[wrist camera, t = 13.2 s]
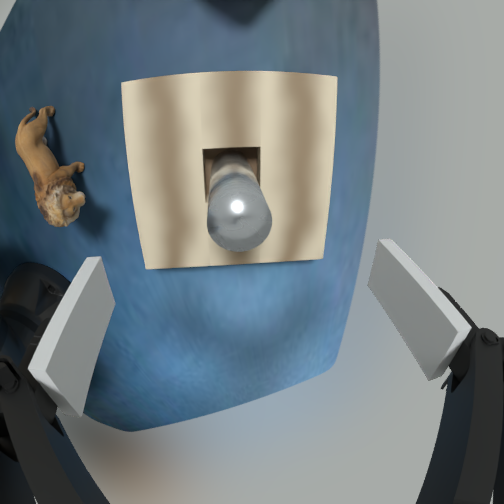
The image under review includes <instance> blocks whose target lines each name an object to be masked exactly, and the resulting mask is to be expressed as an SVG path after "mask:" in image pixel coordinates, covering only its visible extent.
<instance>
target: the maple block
mask: <svg viewBox="0 0 504 504" xmlns="http://www.w3.org/2000/svg"><path fill="white" fill-rule="evenodd" d="M122 104H123V118H124V130H125V141H126V151H127V159H128V168H129V175H130V183H131V190H132V196H133V203H134V209H135V215H136V221H137V226H138V232H139V237H140V242H141V247H142V252H143V257H144V261H145V266H146V269H161V268H180V267H198V266H216V265H233V264H250V263H266V262H282V261H298V260H313V259H323V253H324V245H325V237H326V229H327V220H328V211H329V202H330V192H331V181H332V170H333V157H334V143H335V126H336V104H337V77H335V76H327V75H317V74H307V73H293V72H274V71H221V72H202V73H188V74H178V75H169V76H160V77H153V78H146V79H140V80H134V81H128V82H122ZM225 150H236V151H239V152H241V153H242V154H244V155H245V157H246V158H247V160H248V162H249V164H250V166H251V168H252V171H253V173H254V175H255V177H256V179H257V182H258V184H259V186H260V188H261V191H262V193H263V195H264V197H265V200H266V202H267V204H268V207H269V209H270V211H271V214H272V227H271V231H270V233H269V235H268V237H267V238H266V239H265V240H264V241H263V243H261V244H260V245H259V246H257V247H255V248H253V249H251V250H248V251H243V252H234V251H229V250H226V249H224V248H222V247H220V246H219V245H217V244H216V243H215V242H214V241H213V240H212V238H211V237H210V235H209V232H208V229H207V212H208V199H209V187H210V175H211V165H212V162H213V160H214V158H215V157H216V156H217V155H218V154H219V153H220V152H222V151H225Z"/></svg>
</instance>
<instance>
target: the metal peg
mask: <svg viewBox="0 0 504 504" xmlns="http://www.w3.org/2000/svg"><path fill="white" fill-rule="evenodd" d="M271 227H272V214H271V211H270V209H269V207H268V204H267V202H266V200H265V197H264V195H263V193H262V191H261V188H260V186H259V184H258V182H257V179H256V177H255V175H254V173H253V171H252V168H251V166H250V164H249V162H248V160H247V158H246V157H245V155H244V154H242V153H241V152H239V151H236V150H225V151H222V152H220V153H219V154H218V155H217V156H216V157H215V158H214V160H213V162H212V165H211V175H210V187H209V199H208V212H207V229H208V232H209V235H210V237H211V238H212V240H213V241H214V242H215V243H216V244H217V245H219V246H220V247H222V248H224V249H226V250H229V251H234V252H243V251H248V250H251V249H253V248H255V247H257V246H259V245H260V244H261V243H263V241H264V240H265V239H266V238H267V237H268V235H269V233H270V231H271Z"/></svg>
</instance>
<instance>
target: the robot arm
mask: <svg viewBox="0 0 504 504" xmlns="http://www.w3.org/2000/svg"><path fill="white" fill-rule="evenodd" d="M368 287H369V288H370V290H371V291H372V292H373V293H374V295H375V297H376V298H377V300H378V301H379V303H380V304H381V305H382V307H383V309H384V310H385V312H386V313H387V315H388V316H389V318H390V319H391V321H392V322H393V324H394V325H395V327H396V329H397V330H398V331H399V333H400V335H401V336H402V338H403V339H404V341H405V343H406V344H407V346H408V347H409V349H410V351H411V352H412V354H413V356H414V357H415V359H416V360H417V362H418V364H419V365H420V367H421V369H422V370H423V372H424V374H425V376H426V377H427V379H428V381H430V380H433V379H435V378H438V377H440V376H442V375H443V374H444V372H445V370H446V369H447V367H448V366H449V367H450V369H451V371H452V372H451V373H450V375H449V376H448V378H447V379H446V381H445V382H444V383H443V385H442V387H441V389H443V388H444V387H445V386H446V384H447V389H446V397H445V403H444V408H443V414H442V418H441V422H440V427H439V432H438V435H437V440H436V443H435V447H434V451H433V454H432V458H431V461H430V464H429V468H428V471H427V474H426V477H425V480H424V483H423V486H422V488H421V492H420V494H419V497H418V499H417V502H416V504H490V501H491V497H492V492H493V504H504V338H503V337H502V338H499V337H498V336H497V335H496V334H495V333H494V332H493V331H491V330H490V329H487V328H481V329H479V328H478V327H477V326H476V325H475V323H474V322H473V321H472V320H471V319H470V317H469V316H468V315H467V314H466V313H465V311H464V310H463V309H462V308H460V306H459V305H458V303H457V302H455V300H454V299H453V298H452V297H451V295H450V294H449V293H447V292H446V291H444V290H443V289H442V288H440V287H436V285H435V284H434V283H433V282H432V281H431V280H430V279H429V278H428V277H427V275H426V274H425V273H424V272H423V271H422V270H421V269H420V268H419V267H418V266H417V265H416V264H415V263H414V262H413V261H412V260H411V259H410V258H409V257H408V256H407V255H406V254H405V253H404V252H403V251H402V250H401V249H400V248H399V247H398V246H397V245H396V244H395V243H394V242H393V241H392V240H391V239H380V240H378V243H377V248H376V252H375V257H374V261H373V265H372V269H371V274H370V278H369V282H368ZM114 306H115V301H114V298H113V295H112V292H111V288H110V285H109V282H108V279H107V276H106V272H105V269H104V265H103V262H102V258H101V257H87V258H86V260H85V261H84V263H83V265H82V266H81V268H80V269H79V271H78V273H77V274H76V276H75V278H74V279H73V281H72V283H70V282H69V281H68V280H67V279H65V278H64V277H63V276H62V275H61V274H59V273H58V272H56V271H55V270H53V269H51V268H49V267H47V266H45V265H42V264H38V263H24V264H21V265H19V266H18V267H17V268H16V269H15V270H14V271H13V272H12V273H11V275H10V276H9V277H8V279H7V281H6V283H5V287H4V292H3V294H2V297H1V301H0V504H36V502H35V499H36V501H37V502H38V504H110V503H109V501H108V500H107V499H106V497H105V496H104V495H103V493H102V492H101V490H100V489H99V487H98V486H97V484H96V483H95V481H94V480H93V478H92V477H91V475H90V474H89V472H88V471H87V469H86V467H85V466H84V464H83V462H82V461H81V459H80V457H79V456H78V454H77V452H76V450H75V449H74V447H73V445H72V443H71V441H70V439H69V438H68V436H67V434H66V432H65V430H64V428H63V426H62V424H61V422H60V420H59V418H58V417H57V415H56V410H57V407H58V408H59V409H60V410H61V411H62V412H63V413H64V415H69V416H75V417H82V413H83V409H84V405H85V400H86V397H87V393H88V389H89V385H90V381H91V378H92V374H93V371H94V367H95V364H96V361H97V357H98V354H99V351H100V348H101V344H102V341H103V338H104V335H105V332H106V329H107V326H108V323H109V320H110V318H111V315H112V312H113V309H114ZM34 497H35V498H34Z"/></svg>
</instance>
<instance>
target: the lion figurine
mask: <svg viewBox="0 0 504 504" xmlns="http://www.w3.org/2000/svg"><path fill="white" fill-rule="evenodd" d="M29 111H30V112H31V113H30V114H28V115H27V116H26V117H25V118H24V119H23V120H22V121H21V123H20V125H19V127H18V133H17V134H16V139H15V143H16V150H17V152H18V154H19V155H20V157H21V158H22V159H23V161H24V163H25V164H26V166H27V168H28V170H29V172H30V175H31V177H32V179H33V181H34V190H35V196H36V201H37V205H38V208H39V209H40V211H41V213H42V214H43V215H44V219H45V220H47V221H48V223H49V224H50V225H54V226H55V227H63V226H66V227H67V226H68V225H69V223H71V222H73V221H74V220H76V219H77V218H78V217H79V212H80V210H79V209H80V207H81V206H83V205H84V204H85V195H84V193H82V192H77V191H76V187H75V183H73V180H72V179H71V177H72V175H73V174H74V172H75V171H77V172H82V171H83V169H84V163H82V162H75V163H72V164H71V165H69V166H61V167H59V165H58V163H57V160H56V158H55V157H54V155H53V153H52V152H51V150H50V149H49V148H48V147H47V146H46V145H47V140H46V138H45V137H44V134H45V131H46V128H47V116H53V114H54V112H55V109H54V107H53V106H47V107H44V108H42V109H40V111H39V116H38V117H37V119H35V120H34V121H32V122H30V123H28V124H26V123H27V122H28V121H29V120H30V119H31V118H32V117H33V116H34V115H35V114H36V110H35V108H33V107H30V109H29Z"/></svg>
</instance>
